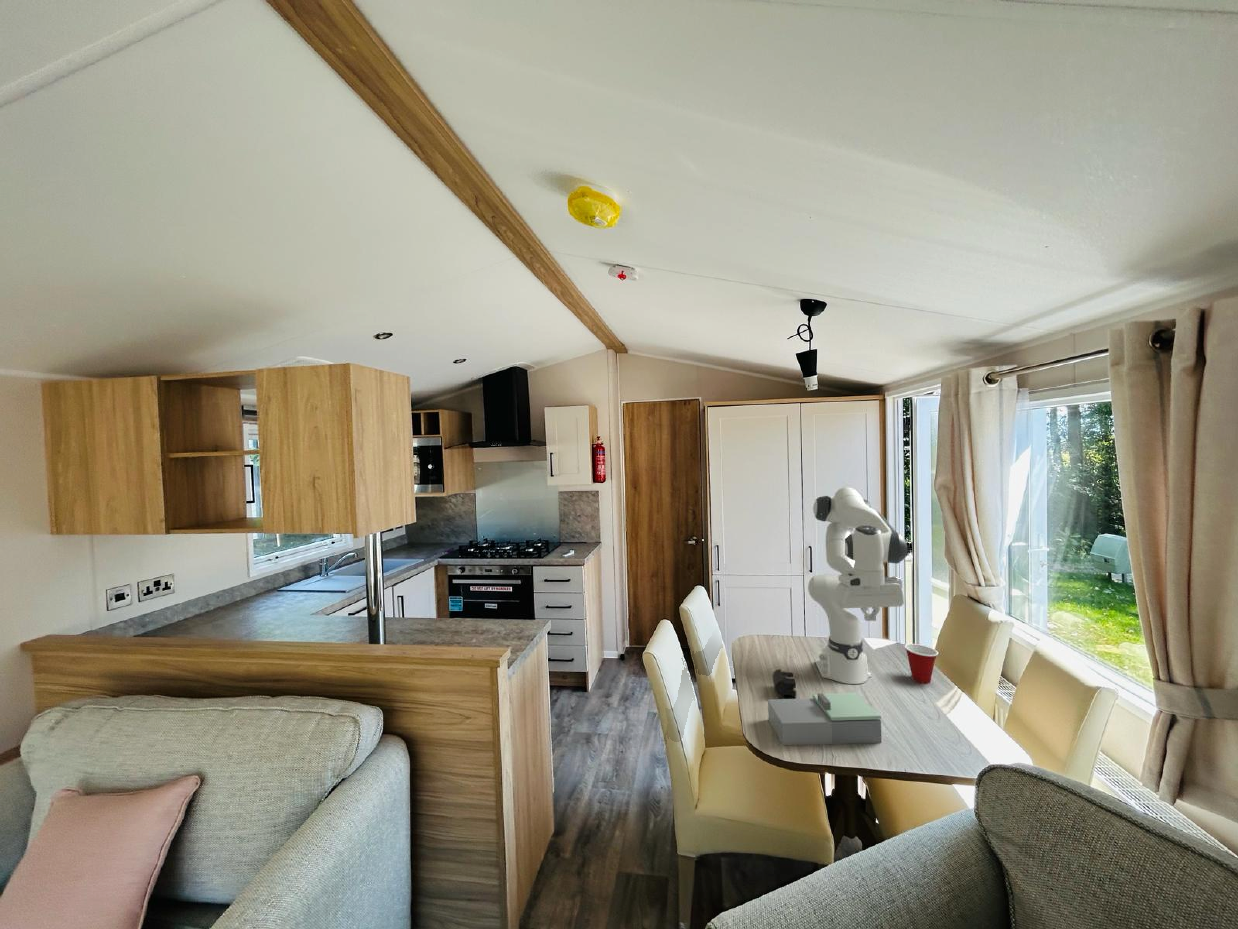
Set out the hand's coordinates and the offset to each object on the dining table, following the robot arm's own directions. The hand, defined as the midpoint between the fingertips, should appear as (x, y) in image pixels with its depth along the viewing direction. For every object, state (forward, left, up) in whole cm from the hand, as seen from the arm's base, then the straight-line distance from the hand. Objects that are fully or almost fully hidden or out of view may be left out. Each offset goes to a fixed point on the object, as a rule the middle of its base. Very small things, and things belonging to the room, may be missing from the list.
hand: (870, 620), depth 158 cm
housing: (+5, -18, -32) cm, 37 cm away
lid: (+5, -11, -25) cm, 28 cm away
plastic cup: (-27, +32, -33) cm, 53 cm away
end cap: (-20, -22, -33) cm, 44 cm away
